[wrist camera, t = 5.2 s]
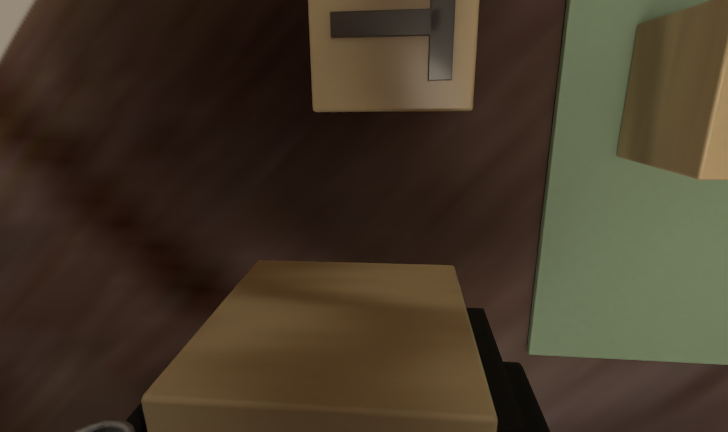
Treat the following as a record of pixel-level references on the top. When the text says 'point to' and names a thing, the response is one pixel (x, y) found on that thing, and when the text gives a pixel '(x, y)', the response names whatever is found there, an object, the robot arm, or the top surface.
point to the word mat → (623, 217)
